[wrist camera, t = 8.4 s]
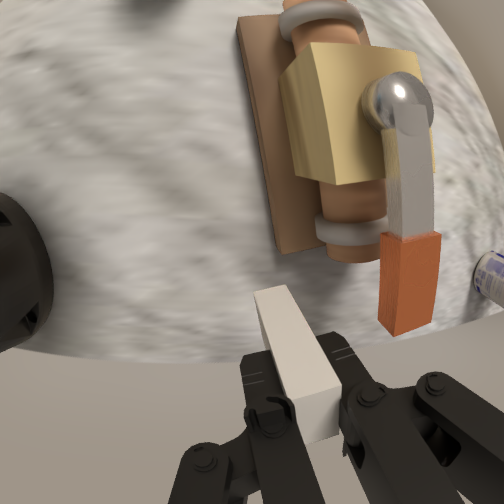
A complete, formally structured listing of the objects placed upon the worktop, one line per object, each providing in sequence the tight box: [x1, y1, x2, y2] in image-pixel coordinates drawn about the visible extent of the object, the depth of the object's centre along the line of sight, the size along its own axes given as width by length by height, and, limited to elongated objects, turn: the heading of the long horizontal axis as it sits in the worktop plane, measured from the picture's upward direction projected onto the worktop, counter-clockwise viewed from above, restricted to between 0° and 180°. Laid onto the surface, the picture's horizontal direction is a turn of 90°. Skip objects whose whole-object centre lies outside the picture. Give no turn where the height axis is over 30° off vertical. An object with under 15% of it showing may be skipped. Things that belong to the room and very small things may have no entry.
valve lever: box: [361, 71, 442, 337], centre depth 12 cm, size 12×3×2 cm, turn 9°
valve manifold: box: [236, 0, 435, 263], centre depth 16 cm, size 10×18×9 cm, turn 10°
